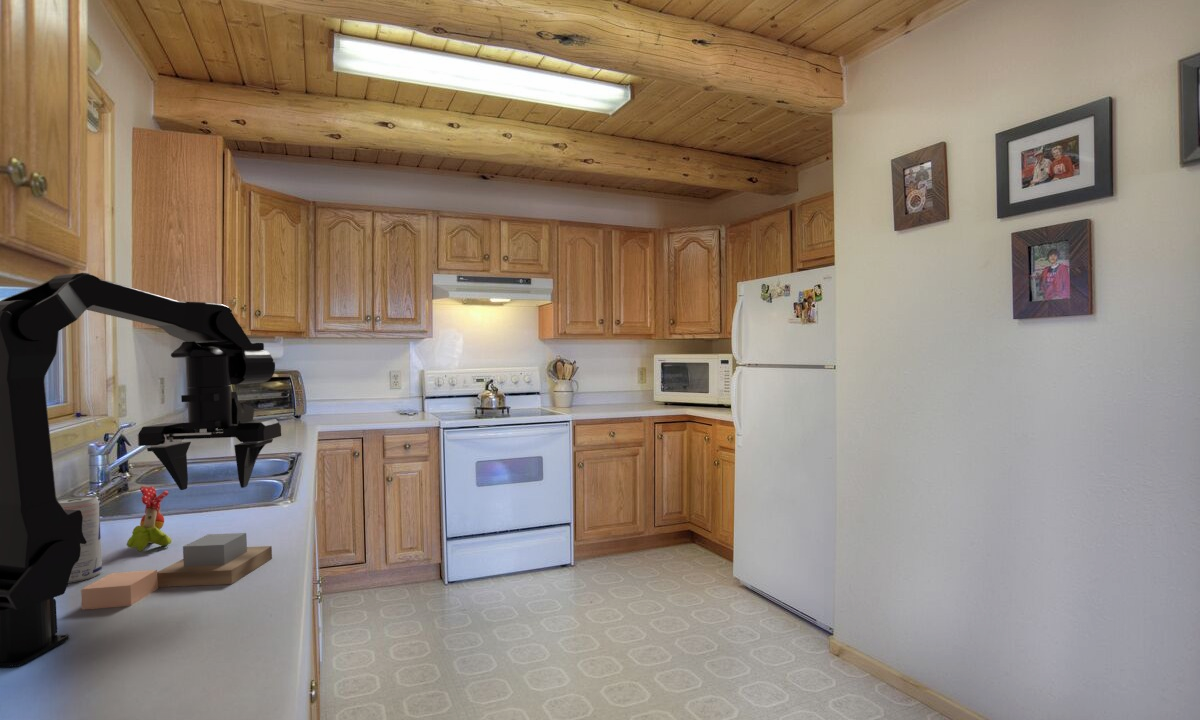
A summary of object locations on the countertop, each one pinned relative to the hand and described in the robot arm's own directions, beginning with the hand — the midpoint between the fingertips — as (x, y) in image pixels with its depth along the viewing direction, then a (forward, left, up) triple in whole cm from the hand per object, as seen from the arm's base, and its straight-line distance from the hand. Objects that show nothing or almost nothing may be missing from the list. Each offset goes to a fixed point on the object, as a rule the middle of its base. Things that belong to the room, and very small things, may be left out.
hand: (213, 488), depth 94 cm
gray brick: (0, 0, -11) cm, 11 cm away
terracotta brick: (-9, +7, -13) cm, 18 cm away
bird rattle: (+15, +21, -13) cm, 29 cm away
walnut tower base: (0, 0, -13) cm, 13 cm away
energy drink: (0, +21, -13) cm, 25 cm away
